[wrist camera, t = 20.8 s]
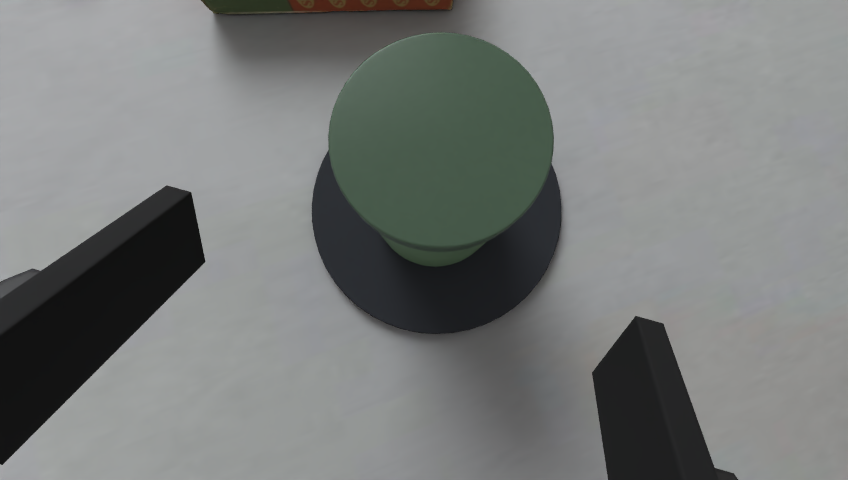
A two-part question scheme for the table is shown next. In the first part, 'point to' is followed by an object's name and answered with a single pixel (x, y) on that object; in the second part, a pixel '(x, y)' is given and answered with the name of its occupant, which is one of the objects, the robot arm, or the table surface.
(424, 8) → the carton
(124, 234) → the robot arm
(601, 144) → the table surface
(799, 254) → the table surface
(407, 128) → the tea tin
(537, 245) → the mat
